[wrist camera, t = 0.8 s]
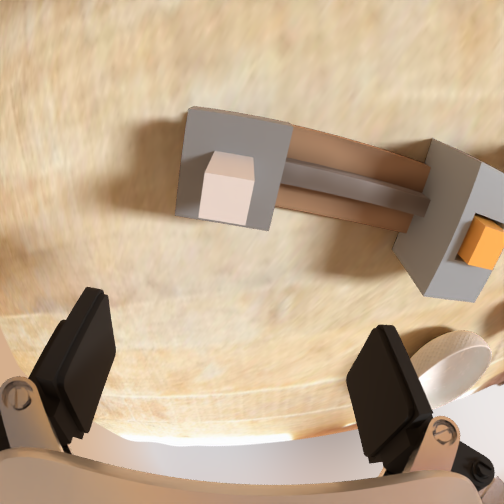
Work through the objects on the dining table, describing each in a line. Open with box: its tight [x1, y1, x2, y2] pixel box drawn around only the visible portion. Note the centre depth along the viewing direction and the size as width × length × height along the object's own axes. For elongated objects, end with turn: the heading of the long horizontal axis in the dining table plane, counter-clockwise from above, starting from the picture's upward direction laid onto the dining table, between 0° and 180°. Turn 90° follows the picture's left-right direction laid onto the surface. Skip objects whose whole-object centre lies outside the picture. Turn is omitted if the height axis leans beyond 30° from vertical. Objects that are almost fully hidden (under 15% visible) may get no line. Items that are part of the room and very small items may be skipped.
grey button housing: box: [392, 138, 504, 303], centre depth 29 cm, size 15×8×9 cm, turn 169°
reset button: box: [457, 213, 504, 270], centre depth 25 cm, size 4×4×4 cm
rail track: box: [275, 124, 431, 233], centre depth 29 cm, size 8×24×4 cm, turn 79°
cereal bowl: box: [410, 330, 492, 410], centre depth 43 cm, size 17×17×7 cm
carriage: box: [175, 106, 294, 231], centre depth 24 cm, size 9×8×10 cm
